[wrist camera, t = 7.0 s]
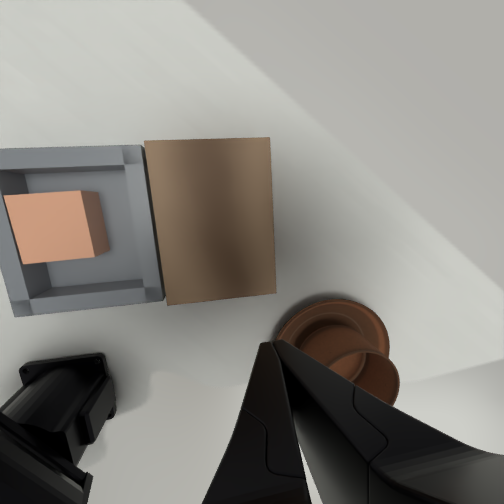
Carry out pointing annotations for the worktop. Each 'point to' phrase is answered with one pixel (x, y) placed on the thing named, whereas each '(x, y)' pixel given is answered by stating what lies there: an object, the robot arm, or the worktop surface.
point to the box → (116, 223)
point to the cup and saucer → (346, 344)
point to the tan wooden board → (213, 217)
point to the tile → (57, 225)
